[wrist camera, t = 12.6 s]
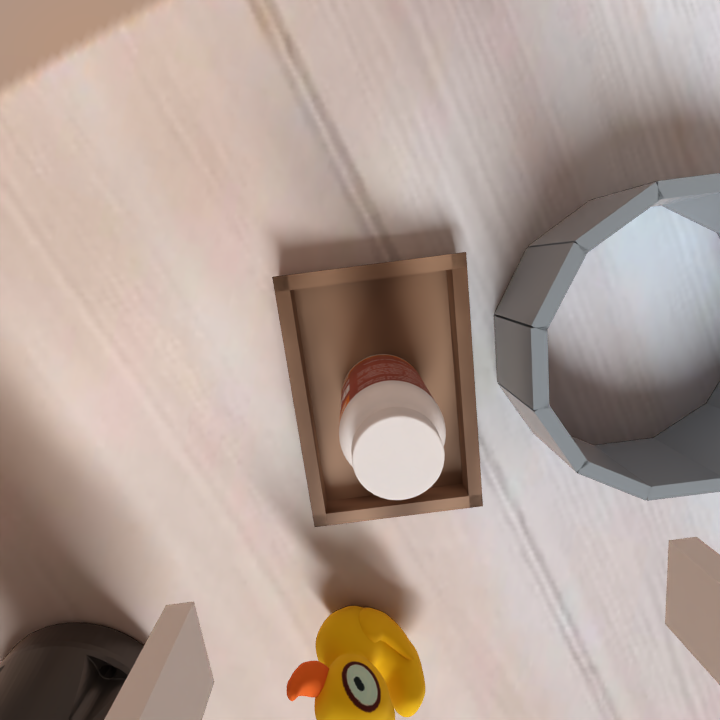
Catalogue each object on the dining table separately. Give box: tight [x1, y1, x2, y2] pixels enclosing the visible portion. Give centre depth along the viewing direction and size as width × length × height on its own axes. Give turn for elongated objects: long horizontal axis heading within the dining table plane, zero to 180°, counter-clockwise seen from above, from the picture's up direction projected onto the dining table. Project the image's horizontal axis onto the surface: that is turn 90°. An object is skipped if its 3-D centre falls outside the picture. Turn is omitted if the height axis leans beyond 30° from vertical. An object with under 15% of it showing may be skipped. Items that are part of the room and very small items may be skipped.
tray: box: [272, 252, 483, 527], centre depth 31 cm, size 13×19×3 cm
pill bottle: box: [339, 354, 446, 500], centre depth 26 cm, size 6×6×11 cm
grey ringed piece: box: [494, 173, 720, 501], centre depth 28 cm, size 20×20×6 cm
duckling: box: [287, 606, 425, 720], centre depth 32 cm, size 11×5×10 cm, turn 61°
